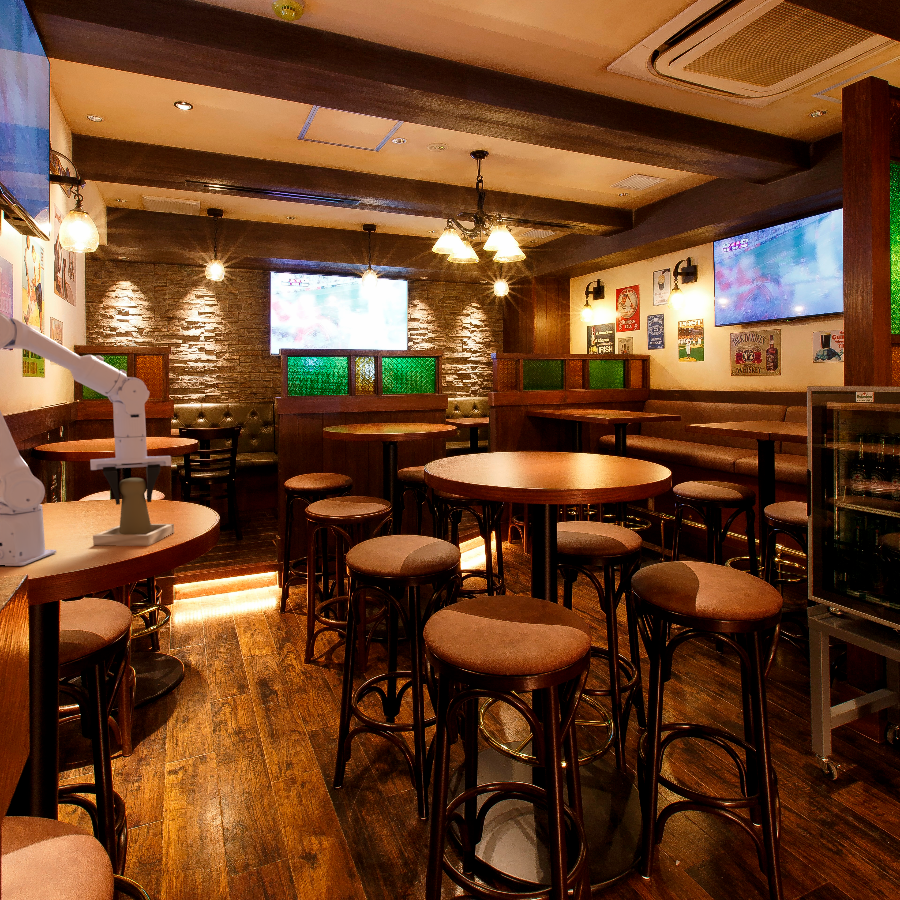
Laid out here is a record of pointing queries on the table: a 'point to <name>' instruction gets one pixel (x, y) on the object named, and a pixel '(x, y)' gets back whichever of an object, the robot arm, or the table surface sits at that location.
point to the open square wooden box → (133, 536)
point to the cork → (134, 507)
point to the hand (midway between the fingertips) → (133, 502)
